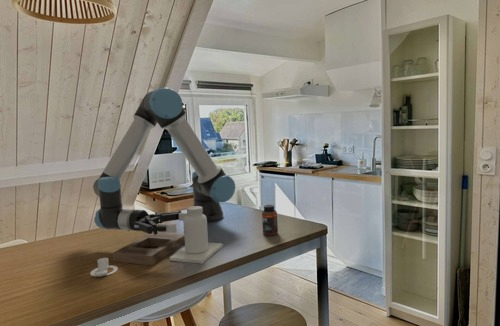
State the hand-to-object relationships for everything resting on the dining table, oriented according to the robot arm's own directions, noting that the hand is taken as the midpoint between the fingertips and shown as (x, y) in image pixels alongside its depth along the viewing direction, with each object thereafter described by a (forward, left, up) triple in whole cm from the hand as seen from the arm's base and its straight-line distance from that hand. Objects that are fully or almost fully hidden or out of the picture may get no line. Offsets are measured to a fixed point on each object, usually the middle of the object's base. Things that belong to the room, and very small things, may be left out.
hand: (186, 222), depth 119 cm
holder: (+2, -13, -11) cm, 17 cm away
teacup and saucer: (+23, -20, -11) cm, 32 cm away
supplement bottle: (-25, +23, -11) cm, 36 cm away
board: (0, +4, -11) cm, 11 cm away
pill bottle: (0, +4, -10) cm, 10 cm away
